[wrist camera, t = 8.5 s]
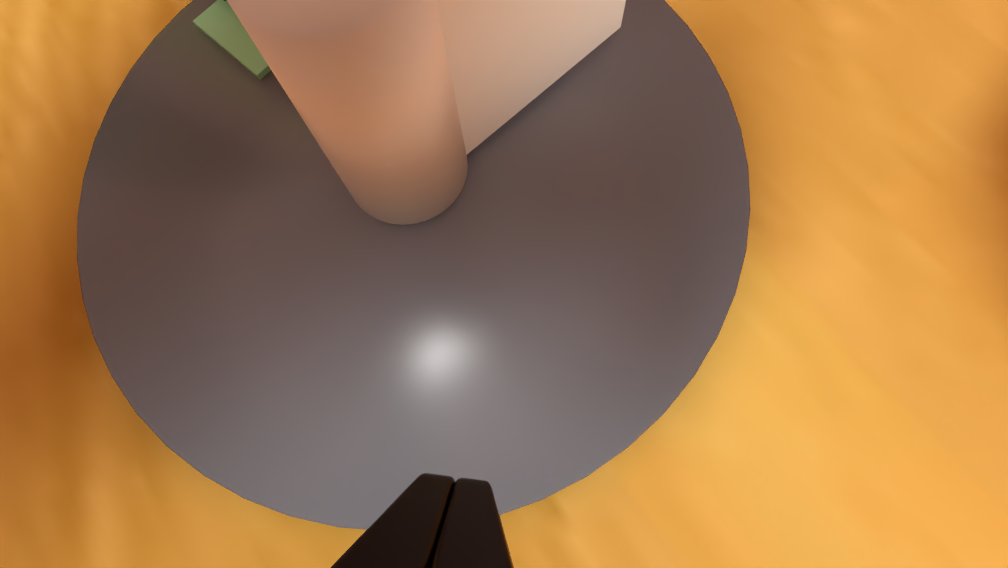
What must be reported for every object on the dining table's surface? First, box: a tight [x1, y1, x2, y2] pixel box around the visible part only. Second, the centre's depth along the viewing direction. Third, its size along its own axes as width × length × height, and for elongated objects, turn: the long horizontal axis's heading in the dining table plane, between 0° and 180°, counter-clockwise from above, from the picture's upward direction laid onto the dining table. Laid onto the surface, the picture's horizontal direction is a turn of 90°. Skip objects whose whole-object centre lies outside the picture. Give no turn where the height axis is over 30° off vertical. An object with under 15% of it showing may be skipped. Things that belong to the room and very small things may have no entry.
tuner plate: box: [77, 0, 750, 529], centre depth 19 cm, size 20×20×1 cm
